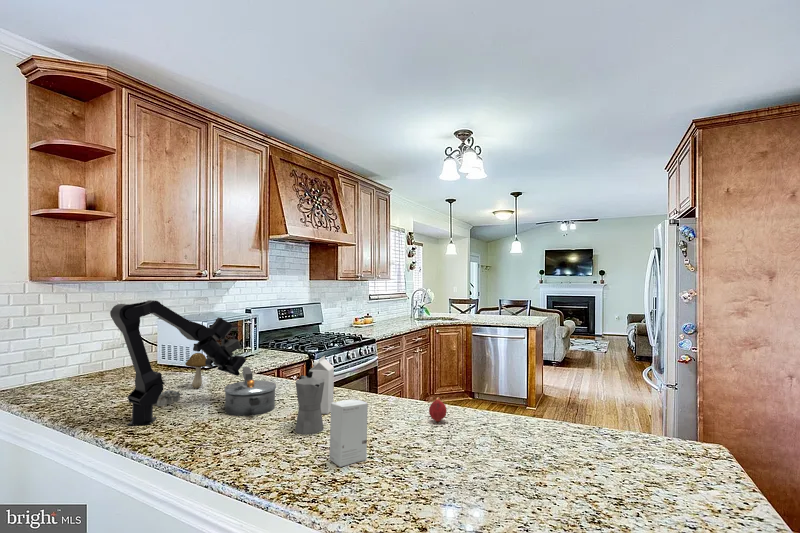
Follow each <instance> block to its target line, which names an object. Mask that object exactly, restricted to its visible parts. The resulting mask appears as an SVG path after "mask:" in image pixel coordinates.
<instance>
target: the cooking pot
mask: <svg viewBox="0 0 800 533" xmlns="http://www.w3.org/2000/svg"><path fill="white" fill-rule="evenodd" d="M224 394H225V396H224V397H225V398H224V412H225V414H227V415H229V416H233V417H234V416H236V417H237V416H238V417H250V416H251V417H252V416H258V415H264V414H266V413H269V412H271V411H273V410H274V409H275V408H276V404H275V403H276V389H274V390H273V391H270V392H267V393H262V394H256V395H232V394H228V393H225V392H224Z"/></svg>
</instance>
